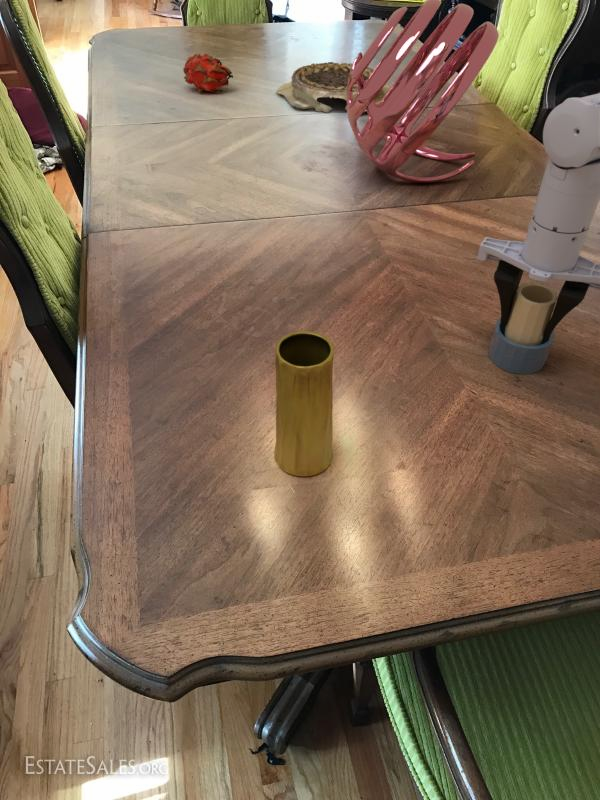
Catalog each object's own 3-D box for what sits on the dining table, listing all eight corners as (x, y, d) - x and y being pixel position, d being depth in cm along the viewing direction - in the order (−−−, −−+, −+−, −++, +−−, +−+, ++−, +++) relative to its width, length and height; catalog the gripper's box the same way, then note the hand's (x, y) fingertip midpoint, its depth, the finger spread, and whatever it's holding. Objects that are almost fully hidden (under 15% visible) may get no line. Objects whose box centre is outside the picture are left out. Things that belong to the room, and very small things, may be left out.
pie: (265, 82, 150) (264, 59, 147) (369, 72, 156) (371, 50, 153) (299, 122, 131) (299, 98, 127) (416, 110, 137) (419, 86, 133)
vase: (282, 483, 61) (279, 376, 51) (268, 439, 65) (263, 333, 56) (340, 470, 62) (349, 364, 52) (322, 428, 67) (327, 322, 57)
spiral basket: (565, 46, 104) (445, -72, 97) (526, 144, 90) (385, 15, 84) (456, 150, 127) (354, 60, 121) (412, 239, 114) (295, 144, 108)
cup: (546, 331, 74) (561, 289, 70) (536, 352, 71) (551, 309, 67) (510, 320, 76) (523, 278, 71) (499, 340, 73) (512, 298, 69)
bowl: (550, 349, 77) (560, 323, 74) (537, 381, 72) (547, 355, 70) (497, 332, 79) (504, 307, 76) (481, 363, 75) (488, 337, 72)
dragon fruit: (183, 94, 148) (231, 105, 148) (173, 81, 140) (223, 93, 139) (191, 57, 147) (239, 69, 146) (181, 41, 138) (232, 54, 138)
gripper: (479, 219, 63) (455, 325, 73) (629, 256, 58) (582, 365, 67) (500, 192, 67) (474, 295, 77) (640, 225, 62) (595, 331, 72)
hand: (526, 326), depth 72 cm, fingers closed on cup, 4 cm apart
